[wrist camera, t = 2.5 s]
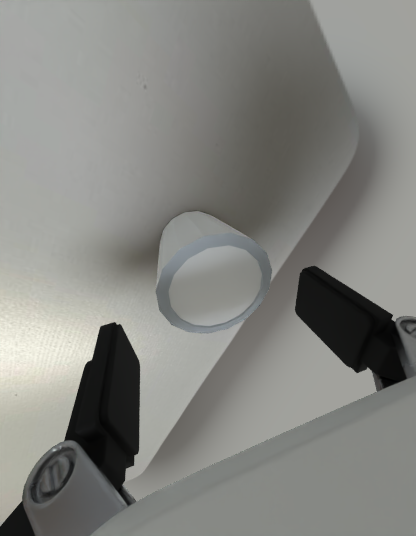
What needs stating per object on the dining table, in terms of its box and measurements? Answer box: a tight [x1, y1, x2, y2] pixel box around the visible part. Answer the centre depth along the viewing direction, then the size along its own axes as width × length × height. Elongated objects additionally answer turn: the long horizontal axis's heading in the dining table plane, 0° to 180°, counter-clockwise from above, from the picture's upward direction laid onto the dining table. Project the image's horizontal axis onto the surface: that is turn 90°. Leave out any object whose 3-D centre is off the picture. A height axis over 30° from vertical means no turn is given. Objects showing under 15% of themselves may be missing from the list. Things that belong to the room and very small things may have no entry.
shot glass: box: [156, 211, 272, 333], centre depth 14 cm, size 7×7×7 cm
